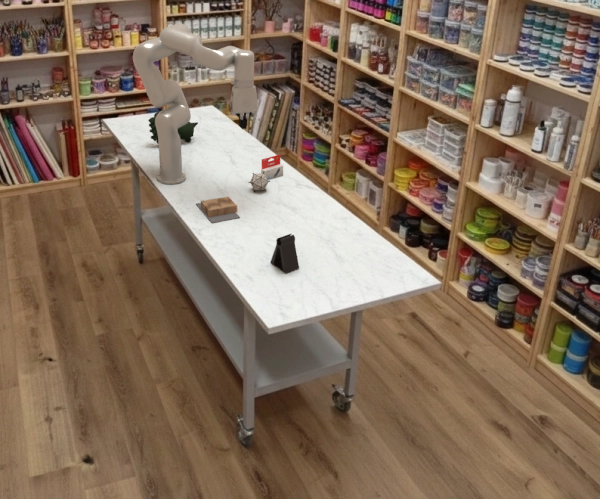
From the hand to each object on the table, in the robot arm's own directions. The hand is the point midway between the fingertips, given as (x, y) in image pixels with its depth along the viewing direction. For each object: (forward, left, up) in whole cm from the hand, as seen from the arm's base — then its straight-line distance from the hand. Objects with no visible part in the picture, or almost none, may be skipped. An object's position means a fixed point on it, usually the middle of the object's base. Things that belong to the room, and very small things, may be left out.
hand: (243, 127), depth 282 cm
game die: (-3, +9, -31) cm, 32 cm away
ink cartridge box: (-13, +20, -31) cm, 39 cm away
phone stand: (+58, -9, -31) cm, 66 cm away
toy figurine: (-67, -7, -31) cm, 74 cm away
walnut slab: (+9, -8, -29) cm, 31 cm away
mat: (+9, -15, -31) cm, 35 cm away
